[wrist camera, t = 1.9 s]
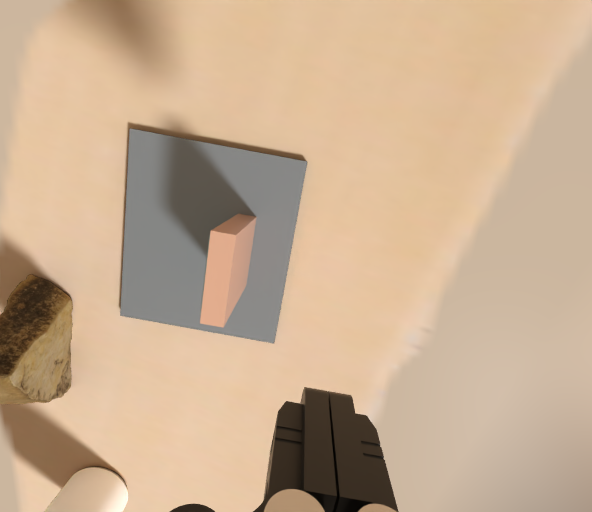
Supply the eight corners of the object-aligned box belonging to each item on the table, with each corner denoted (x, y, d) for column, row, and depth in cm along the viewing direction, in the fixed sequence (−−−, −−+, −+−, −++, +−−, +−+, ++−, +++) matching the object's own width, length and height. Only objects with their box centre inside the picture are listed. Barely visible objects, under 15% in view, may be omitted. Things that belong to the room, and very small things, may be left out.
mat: (133, 129, 26) (129, 128, 26) (307, 161, 26) (307, 161, 26) (123, 312, 30) (120, 315, 30) (274, 340, 30) (274, 343, 30)
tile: (236, 213, 27) (208, 230, 19) (256, 216, 27) (235, 235, 19) (227, 281, 29) (197, 322, 21) (246, 285, 29) (223, 327, 21)
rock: (77, 426, 31) (116, 356, 27) (-55, 469, 24) (-27, 383, 20) (49, 336, 36) (79, 268, 32) (-66, 350, 29) (-45, 266, 26)
